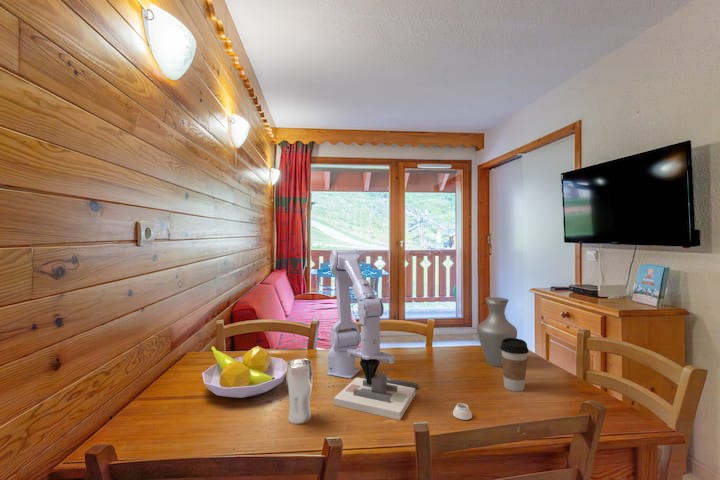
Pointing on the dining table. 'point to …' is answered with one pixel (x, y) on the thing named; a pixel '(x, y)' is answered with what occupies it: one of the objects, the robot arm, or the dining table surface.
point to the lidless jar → (462, 412)
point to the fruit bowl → (244, 373)
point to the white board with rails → (377, 397)
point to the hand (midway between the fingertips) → (370, 383)
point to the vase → (495, 330)
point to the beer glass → (299, 389)
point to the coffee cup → (514, 363)
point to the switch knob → (379, 383)
